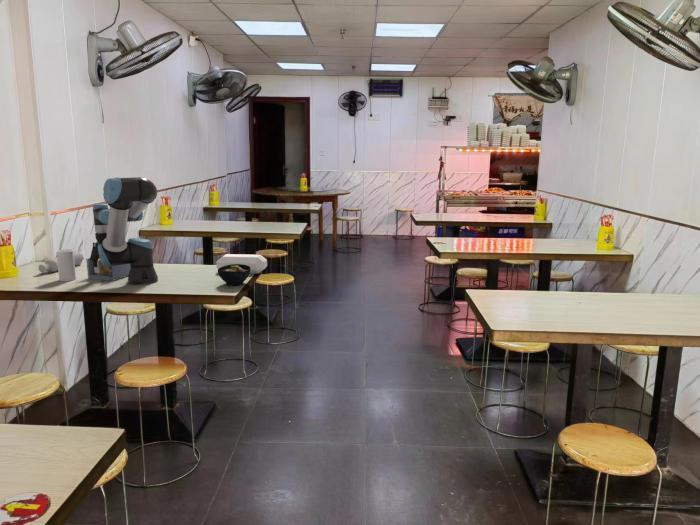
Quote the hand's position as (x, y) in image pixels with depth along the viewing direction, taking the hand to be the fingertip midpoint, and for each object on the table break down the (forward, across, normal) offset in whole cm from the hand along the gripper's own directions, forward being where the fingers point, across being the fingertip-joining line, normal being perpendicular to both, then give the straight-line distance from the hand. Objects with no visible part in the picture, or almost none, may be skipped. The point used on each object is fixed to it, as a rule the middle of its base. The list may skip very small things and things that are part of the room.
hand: (106, 270), depth 299 cm
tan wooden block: (+4, 0, 0) cm, 4 cm away
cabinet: (+4, -3, 0) cm, 5 cm away
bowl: (+4, -7, +75) cm, 75 cm away
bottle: (+5, -10, -40) cm, 42 cm away
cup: (+4, +10, -17) cm, 20 cm away
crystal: (+4, -35, +65) cm, 74 cm away
